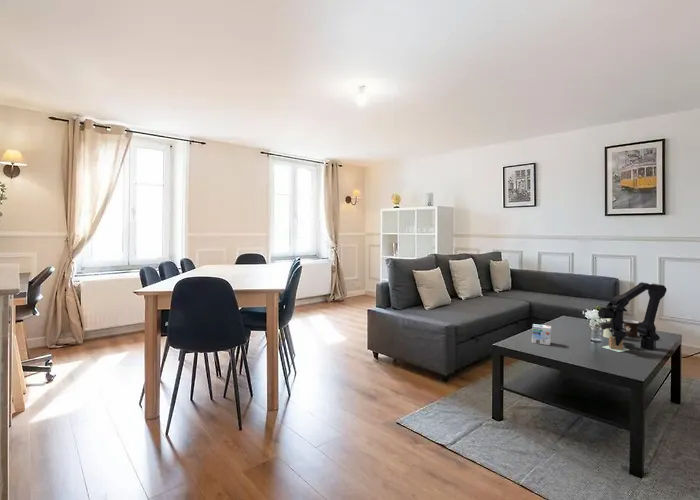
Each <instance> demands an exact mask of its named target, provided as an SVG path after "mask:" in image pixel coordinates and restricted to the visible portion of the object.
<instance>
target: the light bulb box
mask: <svg viewBox="0 0 700 500" xmlns="http://www.w3.org/2000/svg"><path fill="white" fill-rule="evenodd" d="M531 332H532V333H531V343H533V344H539V345H546V346H550V345H551V341H552V340H551V339H552V326H551V325H544V324H535V323H533V324H532V329H531Z"/></svg>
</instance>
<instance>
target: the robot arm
mask: <svg viewBox="0 0 700 500" xmlns="http://www.w3.org/2000/svg"><path fill="white" fill-rule="evenodd" d="M667 289H668V288H667V287H666V286H665V285H663V284H658V283H651V284H649V282H648V283H647V282H643V281H640V282H639V283H638V284H637V285H635V286H634V287H632V288H631V289H629V290H627V291H625V292H624V293H623V294H619V295H616V296H613V297H612V298H610V301H609V302H608V304H606V306H605V307H603V306H601V307H600V309H598V311H597V316H598V317H599V318H600V319H603V320H604V319H608V318H610V321H608V322H604V321H603V322H599V325H600V328H601V329H602V330H603V331H604V329H609V331H610V332H611V333H612V337H615V341H616V346H619V344H620V343H621V341H622V340H623V341H624V338H625V337H627V336H626V332H625V330H624V329H623V328H624V313H625V312H628V310H627V309H626V307H627V306H628V305H629V304H630V301H631V300H632V299H635V298H636V297H638V296H639V295H642V294H643V293H644V292H646V291H647V295H648V297H649V300H648V303H647V307H646V310H645V315H644V318H643V320H642V321H641V322H640V321H638V322H639V323H638V327H637V329H638V335H639V337H641V339H640V346H639V348H641V349H645V350H648V351H654V350H658V348H657V341H659V340H660V338H661V337H660V336H659V334H657V332H656V331H657V329H656V325H655V320H656V317H657V313H658V309H659V304H660V302H661V300H662V298H664V297H665V295H666V294H667V291H668V290H667Z"/></svg>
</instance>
